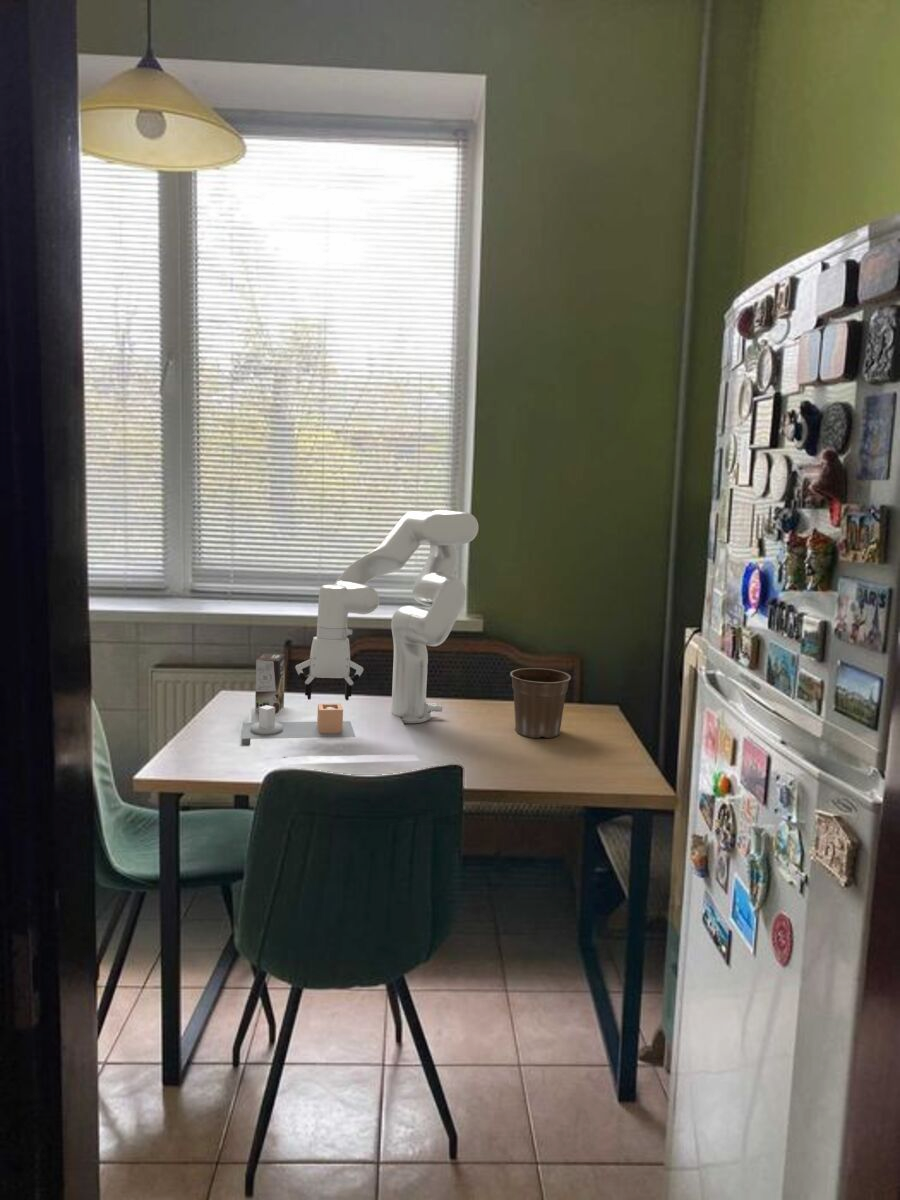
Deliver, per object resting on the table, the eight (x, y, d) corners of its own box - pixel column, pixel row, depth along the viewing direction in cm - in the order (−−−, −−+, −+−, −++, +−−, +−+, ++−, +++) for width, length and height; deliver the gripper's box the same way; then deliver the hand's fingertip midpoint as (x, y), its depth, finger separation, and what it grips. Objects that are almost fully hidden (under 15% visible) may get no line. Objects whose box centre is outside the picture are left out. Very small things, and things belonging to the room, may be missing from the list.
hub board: (350, 726, 233) (351, 699, 232) (355, 742, 221) (356, 713, 220) (242, 728, 227) (243, 700, 226) (242, 744, 215) (242, 715, 214)
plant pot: (497, 734, 234) (500, 675, 231) (520, 719, 248) (524, 664, 245) (553, 745, 226) (558, 685, 224) (574, 730, 240) (579, 673, 238)
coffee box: (277, 718, 237) (278, 660, 235) (254, 717, 238) (255, 659, 235) (284, 709, 246) (285, 653, 244) (262, 707, 247) (263, 652, 244)
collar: (340, 725, 229) (340, 703, 228) (342, 732, 223) (343, 709, 222) (317, 725, 228) (317, 703, 227) (318, 732, 222) (319, 710, 221)
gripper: (363, 631, 227) (359, 695, 229) (296, 629, 223) (293, 694, 226) (367, 637, 220) (363, 703, 222) (297, 634, 216) (294, 701, 218)
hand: (327, 698), depth 224 cm, fingers open, 9 cm apart
